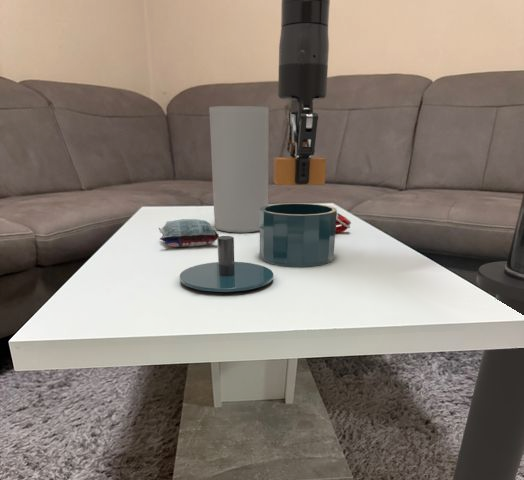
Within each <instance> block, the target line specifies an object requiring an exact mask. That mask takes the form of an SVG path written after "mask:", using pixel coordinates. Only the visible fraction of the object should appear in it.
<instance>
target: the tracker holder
mask: <svg viewBox="0 0 524 480" xmlns="http://www.w3.org/2000/svg"><path fill="white" fill-rule="evenodd" d="M351 224H352V222H351V220H350V219H349V218H347V217H346V216H344V215H343V214H341V213H339V212H337V216H336V230H335V234H336V233H337V234H338V233H343V232H345V231H347V230H348V229H350V228H351Z"/></svg>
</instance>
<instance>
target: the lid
mask: <svg viewBox="0 0 524 480" xmlns="http://www.w3.org/2000/svg"><path fill="white" fill-rule="evenodd" d="M216 241H217V260H218V261H216V262H206V263H201V264H197V265H193V266H189V267H188V268H185V269H184V270H183V271H181V272H180V273H179V281H180V283H181V284H182V285H184V286H185V287H188V288H190V289H194V290H198V291H205V292H215V293H232V292H233V293H234V292H242V291H249V290H254V289H258V288H261V287H264V286H266V285H269V284H270V283H271V282H272V281H273V279H274V272H273V270H272V269H270V268H269V267H266V266H264V265H260V264H257V263H251V262H245V261H243V262H242V261H235V237H234V236H233V235H231V236H230V235H219V237H218V238H217V240H216Z"/></svg>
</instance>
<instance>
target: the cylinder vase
mask: <svg viewBox="0 0 524 480" xmlns="http://www.w3.org/2000/svg"><path fill="white" fill-rule="evenodd" d="M208 111H209V130H210V131H209V132H210V153H211V154H210V155H211V175H212V176H211V177H212V196H213V197H212V198H213V200H212V201H213V219H214V228H216V230H217V231H221V232H226V233H237V234H238V233H239V234H241V233H244V234H245V233H246V234H247V233H256V232H260V208H261V207H263V206H267V205H269V152H270V151H269V147H270V146H269V142H270V141H269V139H270V138H269V136H270V135H269V131H270V129H269V124H270V123H269V122H270V119H269V117H270V116H269V115H270V108H269V106H260V105H259V106H257V105H256V106H255V105H253V106H252V105H223V106H221V105H219V106H209V107H208Z"/></svg>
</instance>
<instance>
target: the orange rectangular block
mask: <svg viewBox="0 0 524 480" xmlns="http://www.w3.org/2000/svg"><path fill="white" fill-rule="evenodd" d="M309 160H310V167H309V182H308V183H307V184H297V183H295V163H296V158H292V157H273V183H274V184H275V185H276V186H325V184H326V171H327V169H326V168H327V158H324V157H313V156H312V157H311V159H309Z"/></svg>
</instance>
